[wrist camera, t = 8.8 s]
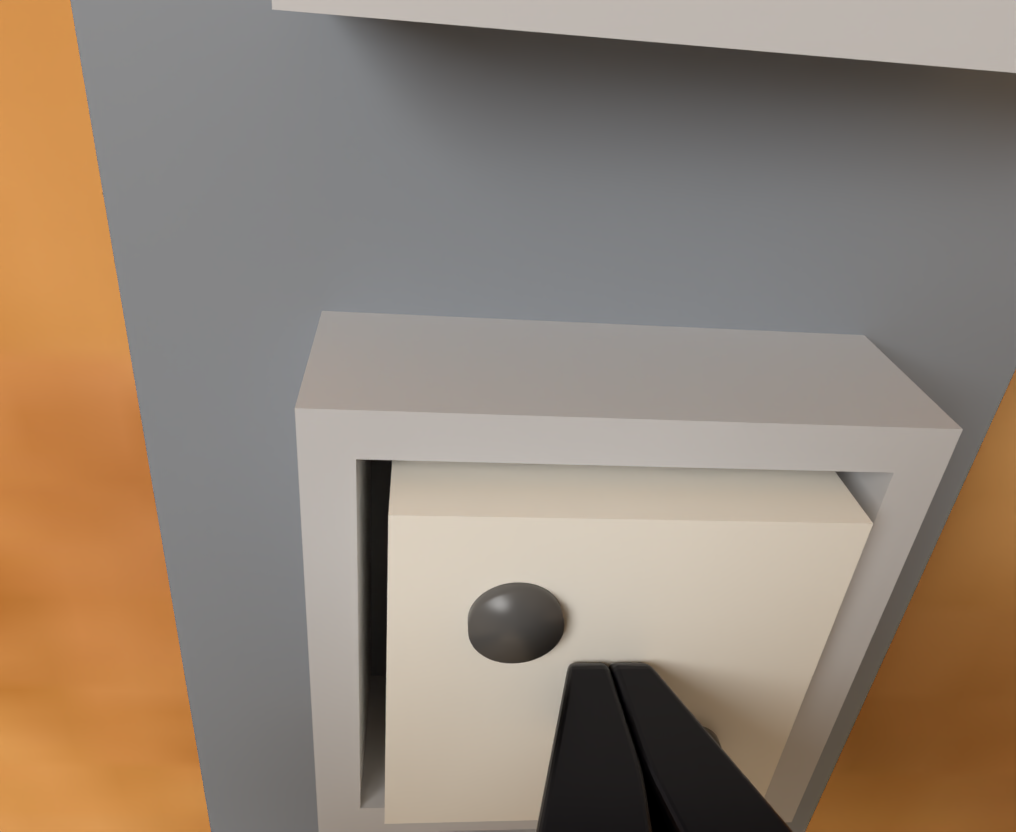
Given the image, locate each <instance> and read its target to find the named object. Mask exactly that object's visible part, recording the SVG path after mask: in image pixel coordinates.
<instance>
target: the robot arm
mask: <svg viewBox="0 0 1016 832" xmlns="http://www.w3.org/2000/svg"><path fill="white" fill-rule="evenodd" d="M536 832H793V831H792V830H791V829H790V828H789V826H788V825H787V824H786V823H785V822H784V821H783V819H782V818H781V817H780V816H779V815H778V814H777V812H776V811H775V810H774V809H773V808H772V806H771V805H770V804H769V803H768V802H767V801H766V799H765V798H764V797H763V796H762V795H761V794H760V792H759V791H758V790H757V789H756V788H755V787H754V785H753V784H752V783H751V782H750V781H749V780H748V778H747V777H746V776H745V775H744V774H743V773H742V771H741V770H740V769H739V768H738V767H737V766H736V764H735V763H734V762H733V761H732V760H731V759H730V757H729V756H728V755H727V754H726V753H725V752H724V750H723V749H722V748H721V747H720V746H719V744H718V743H717V742H716V741H715V740H714V739H713V737H712V736H711V735H710V734H709V733H708V732H707V730H706V729H705V728H704V727H703V726H702V725H701V723H700V722H699V721H698V720H697V719H696V718H695V716H694V715H693V714H692V713H691V712H690V711H689V709H688V708H687V707H686V706H685V705H684V704H683V702H682V701H681V700H680V699H679V698H678V697H677V695H676V694H675V693H674V692H673V691H672V689H671V688H670V687H669V686H668V685H667V684H666V682H665V681H664V680H663V679H662V678H661V677H660V675H659V674H658V673H657V672H656V671H655V670H654V669H653V668H652V667H651V666H650V665H648V664H646V663H612V664H611V665H609V667H608V666H607V665H606V664H604V663H572V664H570V665H569V666H568V668H567V673H566V678H565V683H564V688H563V694H562V699H561V704H560V709H559V714H558V719H557V725H556V730H555V735H554V740H553V745H552V750H551V756H550V761H549V766H548V771H547V776H546V781H545V787H544V792H543V797H542V802H541V807H540V812H539V818H538V823H537V828H536Z"/></svg>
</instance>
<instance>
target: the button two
mask: <svg viewBox="0 0 1016 832" xmlns="http://www.w3.org/2000/svg"><path fill="white" fill-rule="evenodd" d="M872 526H873V523H872V521H871V520H870V518H869V517H868V516H867V514H866V513H865V512H864V510H863V509H862V508H861V506H860V505H859V503H858V502H857V501H856V499H855V498H854V497H853V495H852V494H851V493H850V491H849V490H848V489H847V487H846V486H845V484H844V483H843V482H842V480H841V479H840V478H839V476H838V475H837V474H836V472H835V471H804V470H764V469H724V468H684V467H644V466H604V465H564V464H524V463H484V462H444V461H403V460H392V471H391V485H390V499H389V513H388V582H387V661H386V739H385V818H384V824H403V823H443V822H483V821H524V820H538V818H539V812H540V807H541V802H542V797H543V792H544V787H545V781H546V776H547V771H548V766H549V761H550V756H551V750H552V745H553V740H554V735H555V730H556V725H557V719H558V714H559V709H560V704H561V699H562V694H563V688H564V683H565V678H566V673H567V668H568V666H569V665H570V664H572V663H604V664H606V665H607V666H608V667H609V665H611V664H612V663H646V664H648V665H650V666H651V667H652V668H653V669H654V670H655V671H656V672H657V673H658V674H659V675H660V677H661V678H662V679H663V680H664V681H665V682H666V684H667V685H668V686H669V687H670V688H671V689H672V691H673V692H674V693H675V694H676V695H677V697H678V698H679V699H680V700H681V701H682V702H683V704H684V705H685V706H686V707H687V708H688V709H689V711H690V712H691V713H692V714H693V715H694V716H695V718H696V719H697V720H698V721H699V722H700V723H701V725H702V726H703V727H704V728H705V729H706V730H707V732H708V733H709V734H710V735H711V736H712V737H713V739H714V740H715V741H716V742H717V743H718V744H719V746H720V747H721V748H722V749H723V750H724V752H725V753H726V754H727V755H728V756H729V757H730V759H731V760H732V761H733V762H734V763H735V764H736V766H737V767H738V768H739V769H740V770H741V771H742V773H743V774H744V775H745V776H746V777H747V778H748V780H749V781H750V782H751V783H752V784H753V785H754V787H755V788H756V789H757V790H758V791H759V792H760V794H761V795H762V796H763V797H765V794H766V792H767V789H768V787H769V784H770V782H771V779H772V777H773V774H774V772H775V769H776V767H777V764H778V762H779V759H780V757H781V754H782V752H783V749H784V747H785V744H786V742H787V739H788V737H789V734H790V732H791V729H792V727H793V724H794V722H795V719H796V717H797V714H798V712H799V709H800V707H801V704H802V701H803V699H804V696H805V694H806V691H807V689H808V686H809V684H810V681H811V679H812V676H813V674H814V671H815V669H816V666H817V664H818V661H819V659H820V656H821V654H822V651H823V649H824V646H825V644H826V641H827V639H828V636H829V634H830V631H831V629H832V626H833V624H834V621H835V619H836V616H837V614H838V611H839V609H840V606H841V604H842V601H843V598H844V596H845V593H846V591H847V588H848V586H849V583H850V581H851V578H852V576H853V573H854V571H855V568H856V566H857V563H858V561H859V558H860V556H861V553H862V551H863V548H864V546H865V543H866V541H867V538H868V536H869V533H870V531H871V528H872Z"/></svg>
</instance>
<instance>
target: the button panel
mask: <svg viewBox="0 0 1016 832" xmlns="http://www.w3.org/2000/svg"><path fill="white" fill-rule="evenodd" d="M70 1H71V6H72V12H73V18H74V24H75V30H76V36H77V42H78V48H79V54H80V60H81V66H82V71H83V77H84V83H85V89H86V95H87V101H88V107H89V113H90V119H91V125H92V130H93V136H94V142H95V148H96V154H97V160H98V166H99V172H100V178H101V184H102V190H103V195H104V201H105V207H106V213H107V219H108V225H109V231H110V237H111V243H112V249H113V254H114V260H115V266H116V272H117V278H118V284H119V290H120V296H121V302H122V308H123V314H124V319H125V325H126V331H127V337H128V343H129V349H130V355H131V361H132V367H133V373H134V378H135V384H136V390H137V396H138V402H139V408H140V414H141V420H142V426H143V432H144V437H145V443H146V449H147V455H148V461H149V467H150V473H151V479H152V485H153V491H154V497H155V502H156V508H157V514H158V520H159V526H160V532H161V538H162V544H163V550H164V556H165V561H166V567H167V573H168V579H169V585H170V591H171V597H172V603H173V609H174V615H175V621H176V626H177V632H178V638H179V644H180V650H181V656H182V662H183V668H184V674H185V680H186V685H187V691H188V697H189V703H190V709H191V715H192V721H193V727H194V733H195V739H196V745H197V750H198V756H199V762H200V768H201V774H202V780H203V786H204V792H205V798H206V804H207V809H208V815H209V821H210V827H211V832H536V828H537V823H538V820H524V821H483V822H443V823H403V824H384V818H385V739H386V661H387V582H388V513H389V499H390V485H391V471H392V460H403V461H444V462H484V463H524V464H564V465H604V466H644V467H684V468H724V469H764V470H804V471H835V472H836V474H837V475H838V476H839V478H840V479H841V480H842V482H843V483H844V484H845V486H846V487H847V489H848V490H849V491H850V493H851V494H852V495H853V497H854V498H855V499H856V501H857V502H858V503H859V505H860V506H861V508H862V509H863V510H864V512H865V513H866V514H867V516H868V517H869V518H870V520H871V521H872V523H873V526H872V528H871V531H870V533H869V536H868V538H867V541H866V543H865V546H864V548H863V551H862V553H861V556H860V558H859V561H858V563H857V566H856V568H855V571H854V573H853V576H852V578H851V581H850V583H849V586H848V588H847V591H846V593H845V596H844V598H843V601H842V604H841V606H840V609H839V611H838V614H837V616H836V619H835V621H834V624H833V626H832V629H831V631H830V634H829V636H828V639H827V641H826V644H825V646H824V649H823V651H822V654H821V656H820V659H819V661H818V664H817V666H816V669H815V671H814V674H813V676H812V679H811V681H810V684H809V686H808V689H807V691H806V694H805V696H804V699H803V701H802V704H801V707H800V709H799V712H798V714H797V717H796V719H795V722H794V724H793V727H792V729H791V732H790V734H789V737H788V739H787V742H786V744H785V747H784V749H783V752H782V754H781V757H780V759H779V762H778V764H777V767H776V769H775V772H774V774H773V777H772V779H771V782H770V784H769V787H768V789H767V792H766V794H765V797H764V798H765V799H766V801H767V802H768V803H769V804H770V805H771V806H772V808H773V809H774V810H775V811H776V812H777V814H778V815H779V816H780V817H781V818H782V819H783V821H784V822H785V823H786V824H787V825H788V826H789V828H790V829H791V830H792V831H793V832H805V831H806V828H807V826H808V824H809V822H810V820H811V817H812V815H813V813H814V811H815V809H816V806H817V804H818V802H819V800H820V798H821V795H822V793H823V791H824V789H825V787H826V784H827V782H828V780H829V778H830V776H831V773H832V771H833V769H834V767H835V765H836V762H837V760H838V758H839V756H840V754H841V752H842V749H843V747H844V745H845V743H846V741H847V738H848V736H849V734H850V732H851V730H852V727H853V725H854V723H855V721H856V719H857V716H858V714H859V712H860V710H861V708H862V705H863V703H864V701H865V699H866V697H867V694H868V692H869V690H870V688H871V686H872V683H873V681H874V679H875V677H876V675H877V672H878V670H879V668H880V666H881V664H882V661H883V659H884V657H885V655H886V653H887V650H888V648H889V646H890V644H891V642H892V639H893V637H894V635H895V633H896V631H897V628H898V626H899V624H900V622H901V620H902V618H903V615H904V613H905V611H906V609H907V607H908V604H909V602H910V600H911V598H912V596H913V593H914V591H915V589H916V587H917V585H918V582H919V580H920V578H921V576H922V574H923V571H924V569H925V567H926V565H927V563H928V560H929V558H930V556H931V554H932V552H933V549H934V547H935V545H936V543H937V541H938V538H939V536H940V534H941V532H942V530H943V527H944V525H945V523H946V521H947V519H948V516H949V514H950V512H951V510H952V508H953V505H954V503H955V501H956V499H957V497H958V494H959V492H960V490H961V488H962V486H963V483H964V481H965V479H966V477H967V475H968V473H969V470H970V468H971V466H972V464H973V462H974V459H975V457H976V455H977V453H978V451H979V448H980V446H981V444H982V442H983V440H984V437H985V435H986V433H987V431H988V429H989V426H990V424H991V422H992V420H993V418H994V415H995V413H996V411H997V409H998V407H999V404H1000V402H1001V400H1002V398H1003V396H1004V393H1005V391H1006V389H1007V387H1008V385H1009V382H1010V380H1011V378H1012V376H1013V374H1014V371H1015V369H1016V0H70Z"/></svg>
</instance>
